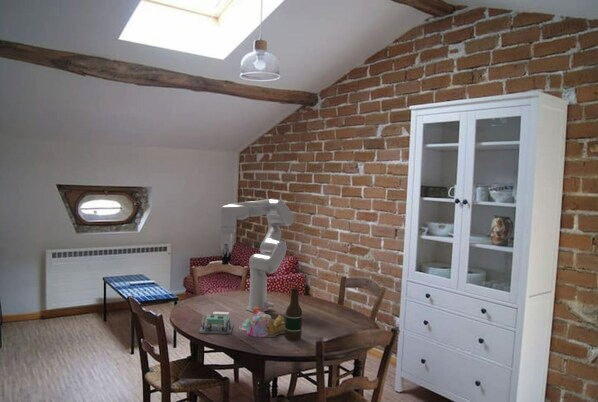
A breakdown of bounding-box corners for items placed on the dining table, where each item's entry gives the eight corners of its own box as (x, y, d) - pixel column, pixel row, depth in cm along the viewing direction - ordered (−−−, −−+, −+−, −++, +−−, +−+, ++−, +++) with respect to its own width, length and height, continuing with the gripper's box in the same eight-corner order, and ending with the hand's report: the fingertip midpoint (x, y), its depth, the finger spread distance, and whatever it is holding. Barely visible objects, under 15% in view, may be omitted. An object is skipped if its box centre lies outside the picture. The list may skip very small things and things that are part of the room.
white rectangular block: (228, 318, 235) (229, 312, 235) (228, 321, 231) (228, 314, 231) (213, 318, 235) (213, 311, 234) (212, 320, 231) (212, 313, 231)
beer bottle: (284, 335, 214) (286, 285, 213) (300, 335, 215) (302, 285, 214) (285, 341, 206) (287, 289, 205) (301, 341, 207) (304, 289, 206)
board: (227, 320, 221) (228, 314, 221) (226, 324, 215) (226, 318, 215) (207, 320, 221) (207, 314, 221) (205, 323, 215) (205, 317, 215)
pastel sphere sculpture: (295, 327, 227) (296, 309, 226) (274, 342, 205) (275, 322, 205) (252, 319, 237) (253, 302, 237) (228, 332, 215) (229, 313, 215)
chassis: (233, 325, 224) (233, 314, 224) (230, 334, 212) (231, 321, 212) (203, 324, 224) (203, 313, 223) (198, 333, 212) (199, 320, 211)
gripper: (222, 227, 238) (221, 259, 239) (217, 231, 221) (216, 265, 222) (236, 228, 239) (235, 259, 239) (233, 231, 221) (231, 266, 222)
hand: (226, 262), depth 231 cm, fingers open, 9 cm apart
